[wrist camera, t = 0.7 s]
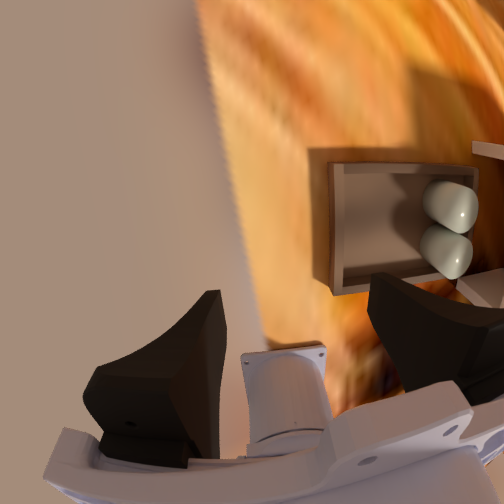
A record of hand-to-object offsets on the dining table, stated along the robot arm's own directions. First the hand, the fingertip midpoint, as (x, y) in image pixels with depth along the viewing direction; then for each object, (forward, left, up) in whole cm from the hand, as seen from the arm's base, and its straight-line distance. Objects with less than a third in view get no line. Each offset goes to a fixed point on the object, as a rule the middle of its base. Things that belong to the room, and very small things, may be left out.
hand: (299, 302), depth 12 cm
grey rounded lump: (+2, -14, -9) cm, 17 cm away
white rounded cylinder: (-2, -14, -9) cm, 17 cm away
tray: (0, -11, -10) cm, 15 cm away
